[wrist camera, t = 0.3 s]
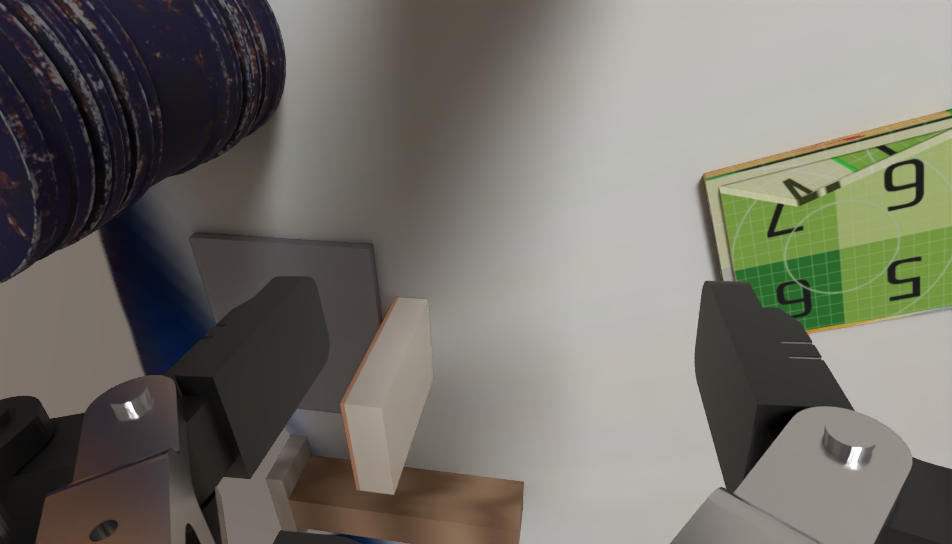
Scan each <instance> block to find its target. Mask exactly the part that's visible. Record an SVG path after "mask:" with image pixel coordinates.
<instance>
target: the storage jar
mask: <svg viewBox="0 0 952 544" xmlns="http://www.w3.org/2000/svg"><path fill="white" fill-rule="evenodd" d="M285 77H286V58H285V51H284V43H283V40H282V36H281V32H280V28H279V25H278V23H277V21H276V18H275V16H274V13H273V11H272V9H271V7H270V5H269V3H268V2H267V0H0V283H3V282H5V281H7V280H9V279H11V278H12V277H14V276H16V275H17V274H18V273H20V272H22V271H24V270H26V269H27V268H29V267H30V266H31V265H32V264H34V263H35V262H36V261H38V260H41V259H43V258H45V257H47V256H49V255H50V254H52V253H54V252H55V251H57V250H60V249H63V248H65V247H67V246H70V245H72V244H74V243H76V242H78V241H79V240H80V239H82V238H84V237H86V236H88V235H89V234H91V233H92V232H94V231H96V230H98V229H99V228H100V227H101V226H103V225H104V224H105V223H106V222H108V221H111V220H113V219H115V218H117V217H119V216H121V215H122V214H123V213H125V212H126V211H127V210H129V209H130V208H131V207H132V206H133V205H134V204H135V202H136V201H138V200H139V199H140V198H141V197H142V196H143V195H144V194H145V192H146V191H147V190H148V189H149V188H150V187H151V186H153V185H155V184H156V183H158V182H160V181H162V180H163V179H165V178H167V177H170V176H174V175H178V174H182V173H184V172H186V171H189V170H191V169H193V168H195V167H196V166H198V165H200V164H202V163H205V162H208V161H210V160H212V159H214V158H216V157H218V156H220V155H221V154H223V153H225V152H226V151H228V150H229V149H231V148H232V147H233V146H235V145H236V144H237V143H238V142H240V140H241V139H242V138H244V137H246V136H248V135H250V134H251V133H253V132H255V131H256V130H257V129H258V128H260V127H261V126H262V125H264V124H265V123H266V121H267V120H268V119H269V118H270V117H271V116H272V114H273V112H274V111H275V109H276V107H277V106H278V104H279V101H280V98H281V95H282V92H283V88H284V82H285Z"/></svg>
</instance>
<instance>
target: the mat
mask: <svg viewBox="0 0 952 544" xmlns="http://www.w3.org/2000/svg"><path fill="white" fill-rule="evenodd" d="M189 239H190V242H191V246H192V249H193V252H194V255H195V258H196V262H197V265H198V268H199V271H200V274H201V277H202V281H203V284H204V287H205V290H206V293H207V297H208V300H209V303H210V306H211V309H212V313H213V316H214V319H215V322H216V324H217V323H218V322H219V321H220V320H221V319H222V318H223V317H224V316H225V315H226V314H227V313H228V312H230V311H231V310H232V309H234V308H235V307H237V306H239V305H241V304H242V303H244V302H246V301H248V300H249V299H251V298H253V297H254V296H255V295H256V294H257V293H258V292H259V291H260V290H261V289H262V288H263V287H264V286H265V285H266V284H267V283H268V282H269V281H270V280H271V279H273V278H274V277H276V276H309V277H312V278H313V279H314V281H315V282H316V285H317V288H318V292H319V296H320V300H321V304H322V309H323V313H324V317H325V321H326V325H327V330H328V334H329V339H330V350H329V356H328V359H327V362H326V364H325V366H324V368H323V369H322V371H321V372H320V374H319V375H318V377H317V378H316V380H315V381H314V383H313V384H312V386H311V387H310V389H309V390H308V392H307V393H306V395H305V396H304V398H303V400H302V401H301V403H300V404H299V406H298V407H297V408H299V409H308V410H317V411H326V412H335V413H342V412H341V407H340V403H341V401H342V399H343V397H344V395H345V393H346V391H347V389H348V387H349V385H350V383H351V382H352V380H353V378H354V376H355V374H356V372H357V370H358V368H359V366H360V364H361V362H362V360H363V358H364V357H365V355H366V353H367V351H368V349H369V347H370V345H371V343H372V341H373V339H374V337H375V335H376V333H377V332H378V330H379V328H380V326H381V324H382V315H381V307H380V299H379V291H378V283H377V275H376V267H375V260H374V252H373V244H361V243H345V242H329V241H313V240H297V239H282V238H266V237H250V236H234V235H218V234H203V233H194V234H193V235H192V236H190V237H189Z"/></svg>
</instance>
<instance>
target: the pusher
mask: <svg viewBox="0 0 952 544" xmlns="http://www.w3.org/2000/svg"><path fill="white" fill-rule="evenodd" d="M266 480H267V484H268V487H269V490H270V493H271V496H272V499H273V503H274V506H275V509H276V512H277V515H278V519H279V522H280V525H281V528H282V531H292V532H302V533H306V532H307V530H308V529H313V530H321V531H327V532H334V533H341V534H348V535H355V536H362V537H369V538H376V539H383V540H389V541H396V542H403V543H410V544H519V539H520V529H521V520H522V511H523V487H524V482H521V481H513V480H505V479H497V478H488V477H480V476H472V475H464V474H456V473H448V472H440V471H432V470H424V469H416V468H408V467H403V470H402V473H401V476H400V479H399V482H398V485H397V488H396V491H395V494H394V495H391V494H383V493H376V492H368V491H361V490H356V485H355V479H354V474H353V469H352V464H351V460H343V459H335V458H327V457H319V456H311V452H310V448H309V444H308V440H307V437H305V436H296V435H291V436H290V438H289V440H288V442H287V443H286V445H285V447H284V449H283V450H282V452H281V454H280V455H279V457H278V459H277V460H276V462H275V464H274V466H273V467H272V469H271V471H270V473H269V474H268V476H267V478H266Z"/></svg>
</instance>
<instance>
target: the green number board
mask: <svg viewBox="0 0 952 544" xmlns="http://www.w3.org/2000/svg"><path fill="white" fill-rule="evenodd" d="M703 180H704V185H705V190H706V196H707V201H708V207H709V212H710V217H711V223H712V228H713V234H714V239H715V245H716V246H715V247H716V250H717V255H718V260H719V264H718V265H719V268H720V275H721V281H748V282H749V283H750V285H751V287H752V289H753V291H754V292H755V294H756V296H757V298H758V300H759V302H760V304H761V306H762V307H772V308H780V309H782V310H783V311H784V312H786V313H787V314H789V315H790V316H791V317H793V318H794V319H796V320H797V321H798V322H800V323H801V324H802V326H803V327H804V329H805V331H806V332H807V333H812V332H818V331H824V330H830V329H836V328H842V327H848V326H854V325H860V324H866V323H872V322H877V321H883V320H889V319H895V318H901V317H907V316H913V315H919V314H925V313H931V312H937V311H943V310H949V309H952V109H950V110H946V111H942V112H938V113H934V114H931V115H927V116H923V117H919V118H915V119H911V120H907V121H904V122H900V123H896V124H892V125H888V126H884V127H881V128H877V129H873V130H869V131H865V132H861V133H858V134H854V135H850V136H846V137H842V138H838V139H834V140H831V141H827V142H823V143H819V144H815V145H811V146H808V147H804V148H800V149H796V150H792V151H788V152H785V153H781V154H777V155H773V156H769V157H765V158H761V159H758V160H754V161H750V162H746V163H742V164H738V165H735V166H731V167H727V168H723V169H719V170H715V171H712V172H708V173H704V174H703Z"/></svg>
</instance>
